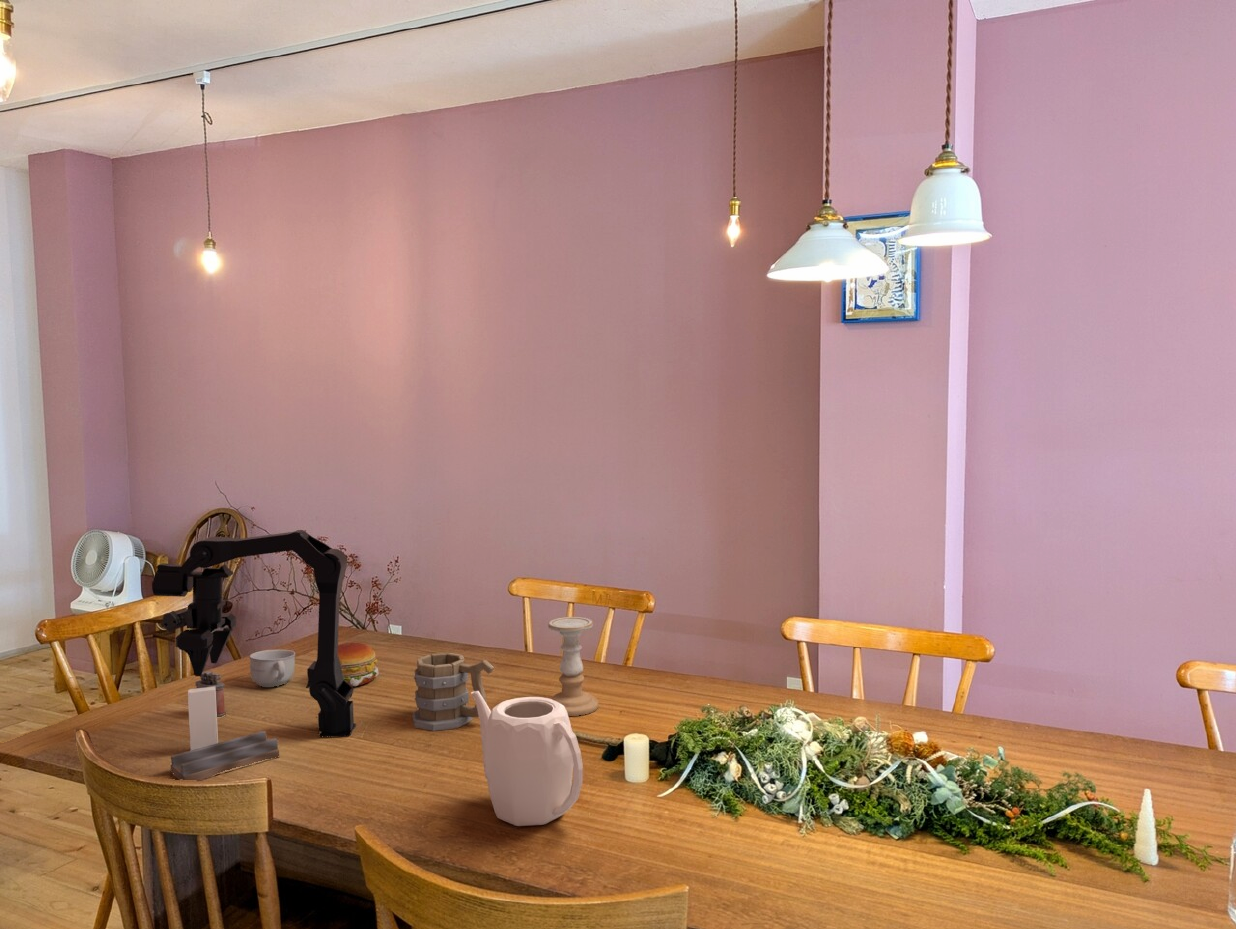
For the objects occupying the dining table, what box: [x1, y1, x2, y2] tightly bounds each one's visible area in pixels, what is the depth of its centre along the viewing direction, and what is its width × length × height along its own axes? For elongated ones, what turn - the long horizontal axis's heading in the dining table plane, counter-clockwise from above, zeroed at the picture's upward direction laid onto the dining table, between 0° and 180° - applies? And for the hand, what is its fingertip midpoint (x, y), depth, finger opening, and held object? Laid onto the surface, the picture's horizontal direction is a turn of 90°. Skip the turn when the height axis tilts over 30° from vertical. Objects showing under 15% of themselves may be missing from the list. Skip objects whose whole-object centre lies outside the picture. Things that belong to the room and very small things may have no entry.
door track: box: [170, 730, 280, 781], centre depth 176 cm, size 18×8×4 cm, turn 134°
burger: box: [338, 641, 379, 688], centre depth 227 cm, size 14×14×10 cm
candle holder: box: [547, 616, 600, 717], centre depth 205 cm, size 12×12×20 cm
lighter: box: [195, 670, 227, 717], centre depth 204 cm, size 8×3×10 cm, turn 62°
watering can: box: [470, 690, 584, 827], centre depth 154 cm, size 16×27×19 cm, turn 50°
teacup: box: [249, 648, 296, 688], centre depth 224 cm, size 14×11×8 cm
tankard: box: [412, 652, 495, 732], centre depth 197 cm, size 20×13×15 cm, turn 62°
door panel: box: [187, 686, 219, 751], centre depth 182 cm, size 5×2×13 cm, turn 112°
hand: (206, 669), depth 189 cm, fingers open, 9 cm apart
